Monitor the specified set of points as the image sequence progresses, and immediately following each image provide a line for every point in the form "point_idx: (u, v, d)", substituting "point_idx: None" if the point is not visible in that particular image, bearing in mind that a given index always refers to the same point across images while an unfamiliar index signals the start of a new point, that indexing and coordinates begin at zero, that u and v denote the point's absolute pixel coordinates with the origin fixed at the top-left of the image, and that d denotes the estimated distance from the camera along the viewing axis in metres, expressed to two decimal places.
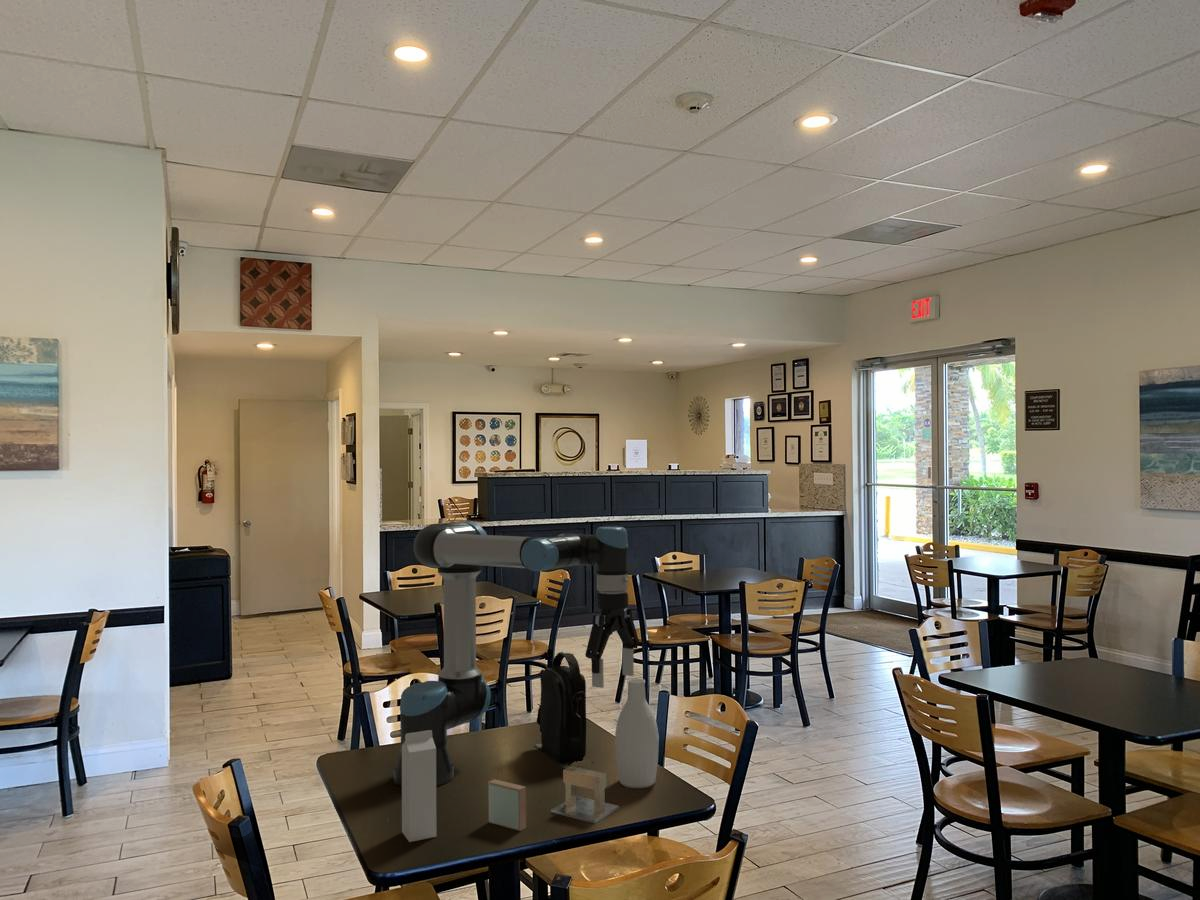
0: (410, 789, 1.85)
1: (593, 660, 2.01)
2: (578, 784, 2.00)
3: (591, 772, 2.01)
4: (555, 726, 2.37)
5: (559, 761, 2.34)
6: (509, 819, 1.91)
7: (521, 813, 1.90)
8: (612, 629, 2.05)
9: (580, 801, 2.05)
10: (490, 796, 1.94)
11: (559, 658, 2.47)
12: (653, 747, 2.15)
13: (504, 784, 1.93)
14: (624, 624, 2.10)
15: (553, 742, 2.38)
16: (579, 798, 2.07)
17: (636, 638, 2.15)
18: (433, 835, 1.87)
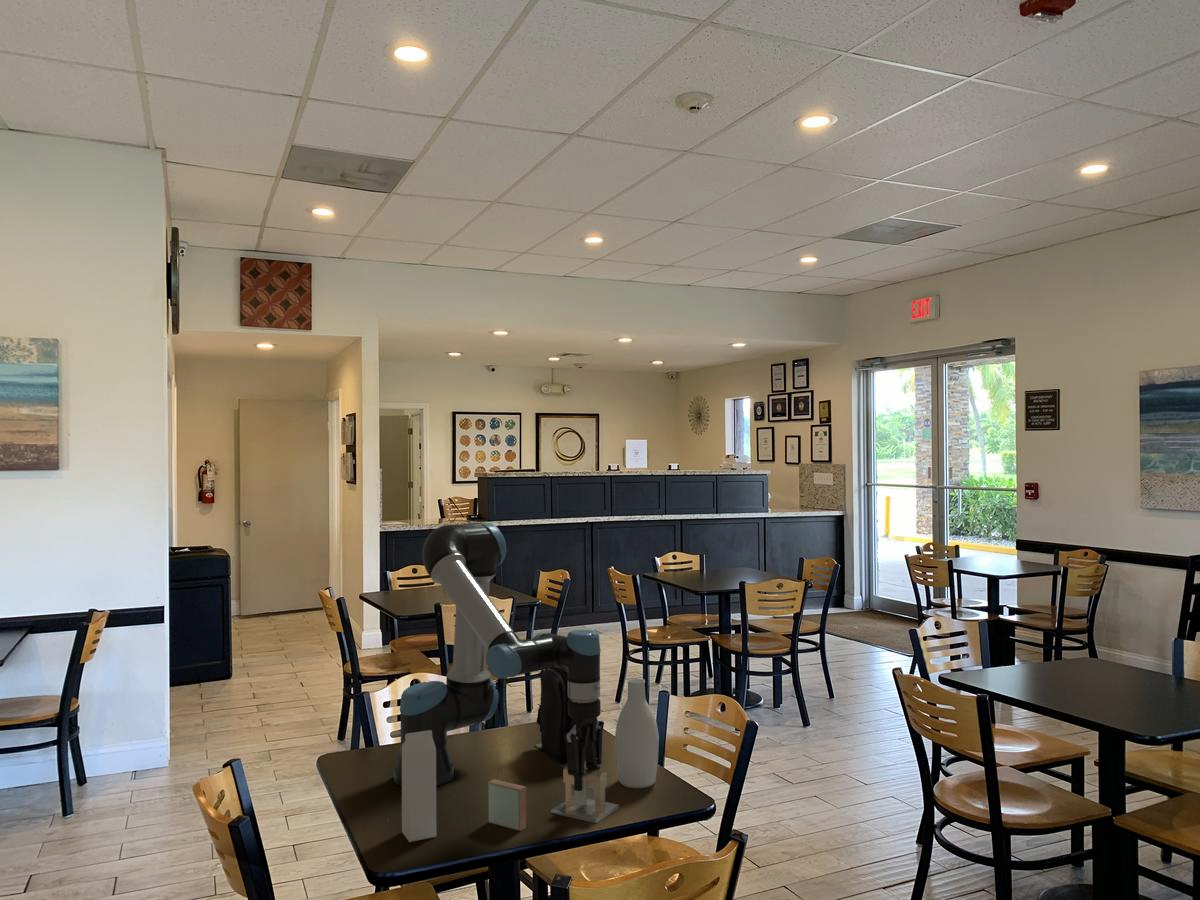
0: (410, 789, 1.85)
1: (576, 777, 1.98)
2: None
3: (591, 771, 2.01)
4: (555, 726, 2.37)
5: (559, 761, 2.34)
6: (509, 819, 1.91)
7: (521, 813, 1.90)
8: (586, 740, 1.99)
9: None
10: (490, 796, 1.94)
11: None
12: (653, 747, 2.15)
13: (504, 784, 1.93)
14: (594, 735, 2.02)
15: (553, 743, 2.38)
16: None
17: (600, 757, 2.04)
18: (433, 835, 1.87)
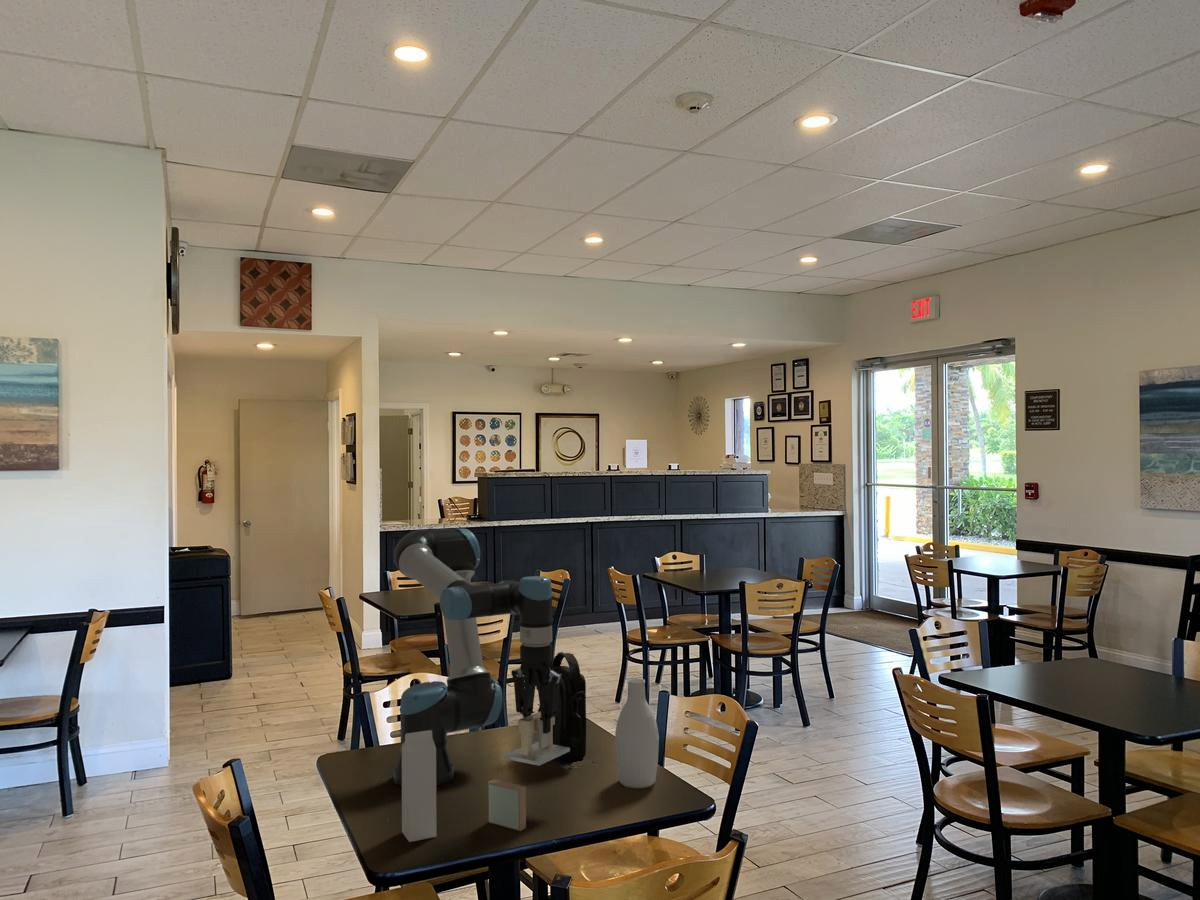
0: (410, 789, 1.85)
1: None
2: None
3: (534, 717, 2.01)
4: (555, 726, 2.37)
5: (559, 761, 2.34)
6: (509, 819, 1.91)
7: (521, 813, 1.90)
8: (526, 683, 2.02)
9: (553, 749, 2.03)
10: (490, 796, 1.94)
11: (559, 658, 2.47)
12: (653, 747, 2.15)
13: (504, 784, 1.93)
14: (537, 682, 2.01)
15: (553, 742, 2.38)
16: (563, 749, 2.04)
17: (549, 711, 1.99)
18: (433, 835, 1.87)
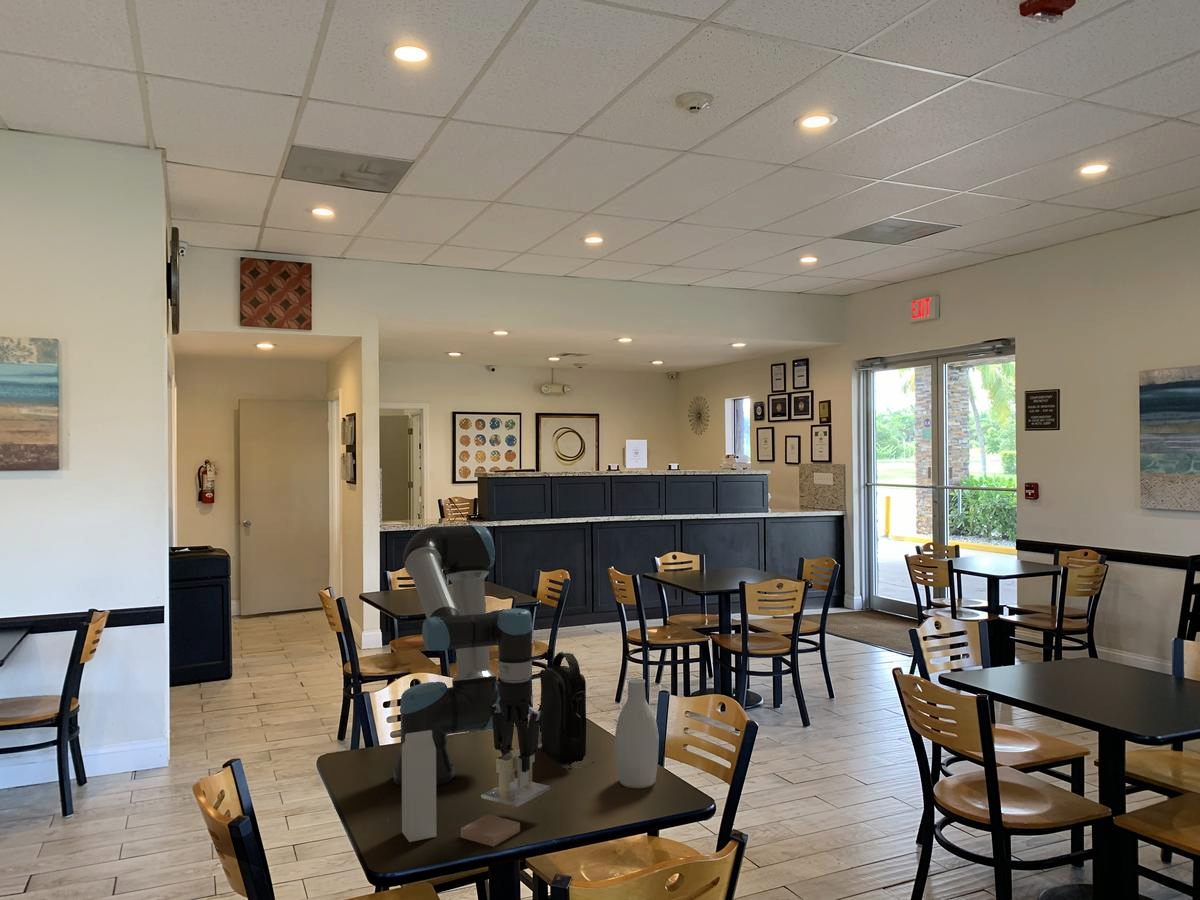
0: (410, 789, 1.85)
1: None
2: None
3: (512, 755, 1.94)
4: (555, 726, 2.37)
5: (559, 761, 2.34)
6: None
7: (509, 835, 1.86)
8: (505, 719, 1.96)
9: (533, 788, 1.97)
10: None
11: (559, 658, 2.47)
12: (653, 747, 2.15)
13: (475, 839, 1.85)
14: (516, 719, 1.94)
15: (553, 742, 2.38)
16: (543, 787, 1.97)
17: (528, 749, 1.93)
18: (433, 835, 1.87)
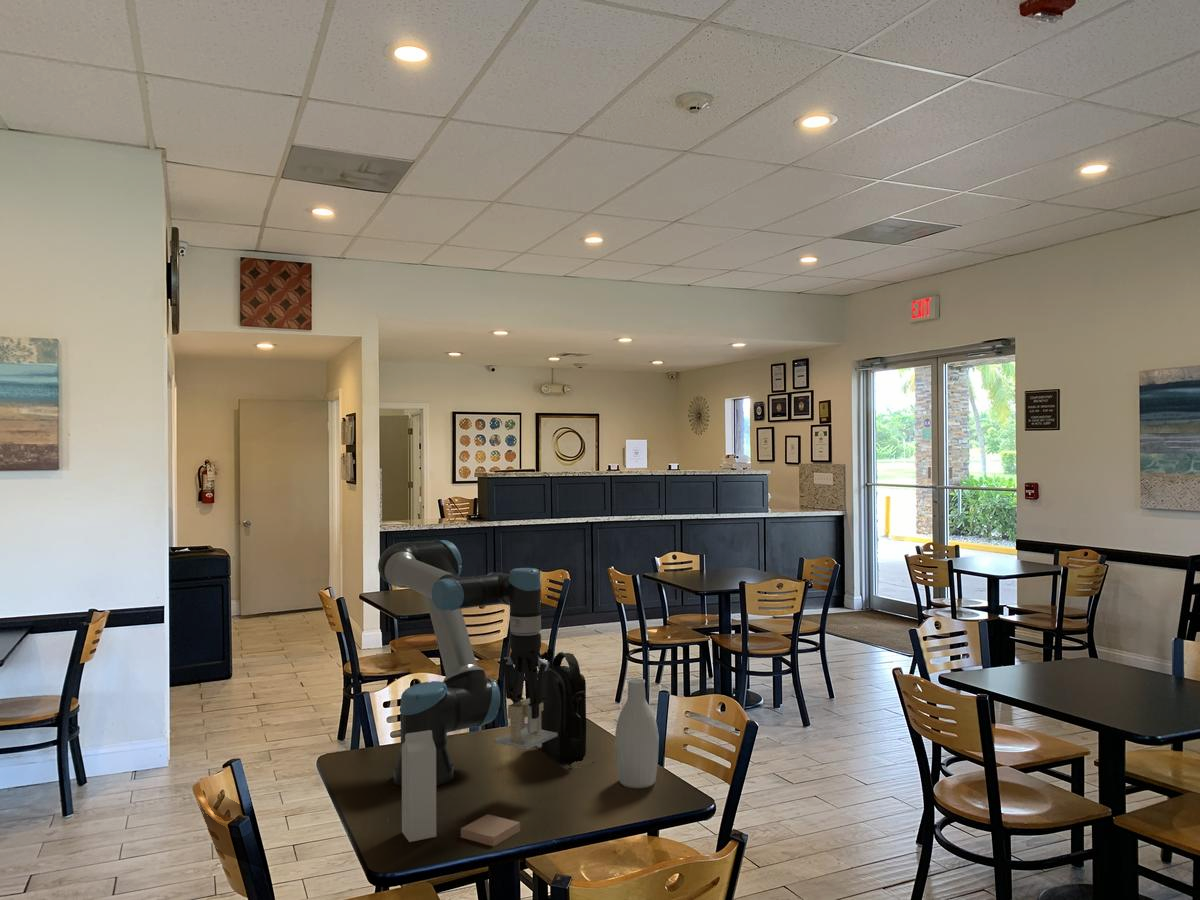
0: (410, 789, 1.85)
1: None
2: None
3: (523, 703, 2.09)
4: (555, 726, 2.37)
5: (559, 761, 2.34)
6: None
7: (509, 835, 1.87)
8: (516, 670, 2.10)
9: (542, 734, 2.12)
10: None
11: (559, 658, 2.47)
12: (653, 747, 2.15)
13: (475, 839, 1.85)
14: (526, 670, 2.09)
15: (553, 742, 2.38)
16: (551, 733, 2.12)
17: (538, 697, 2.07)
18: (433, 835, 1.87)
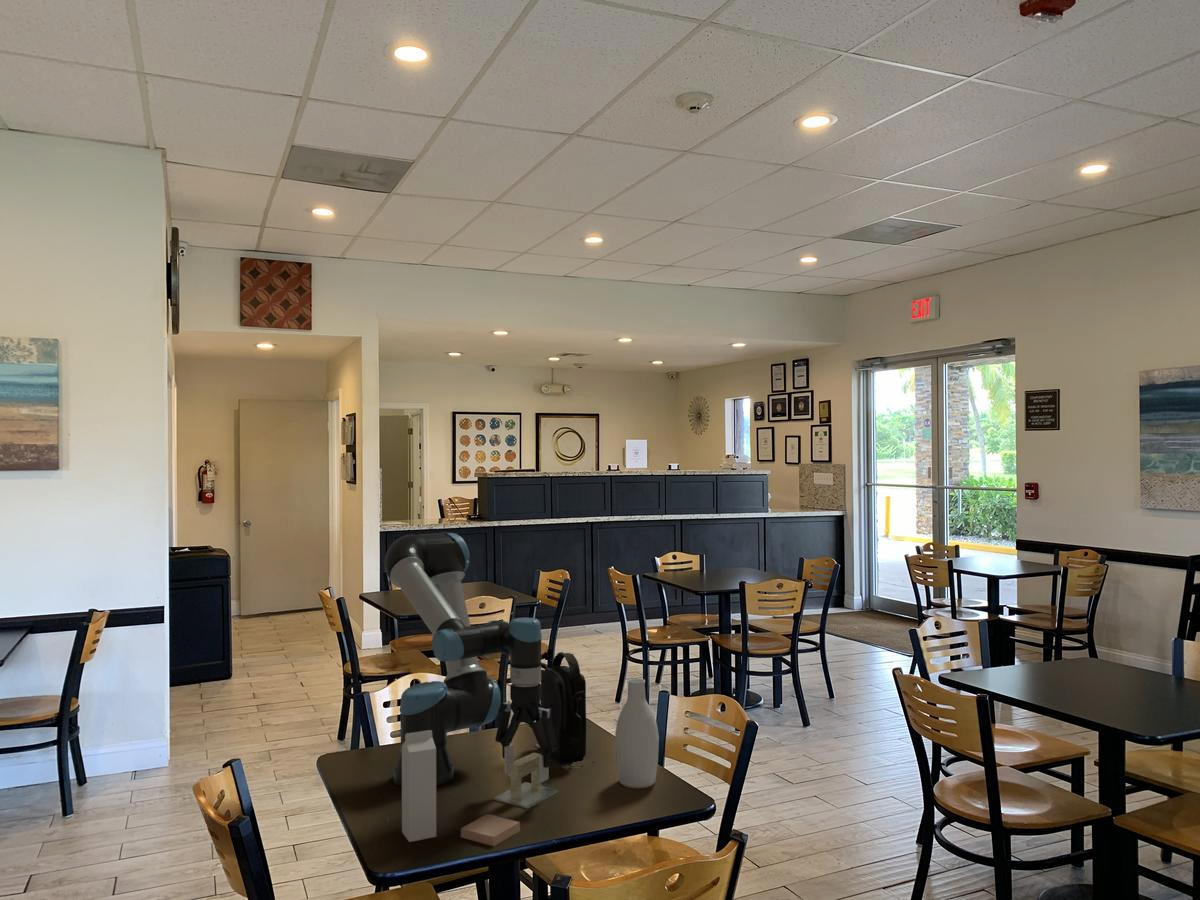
0: (410, 789, 1.85)
1: None
2: None
3: (523, 761, 2.09)
4: (555, 726, 2.37)
5: (559, 761, 2.34)
6: None
7: (509, 834, 1.87)
8: (513, 719, 2.11)
9: (542, 791, 2.11)
10: None
11: (559, 658, 2.47)
12: (653, 747, 2.15)
13: (475, 839, 1.85)
14: (529, 720, 2.08)
15: None
16: (551, 791, 2.12)
17: (548, 746, 2.05)
18: (433, 835, 1.87)
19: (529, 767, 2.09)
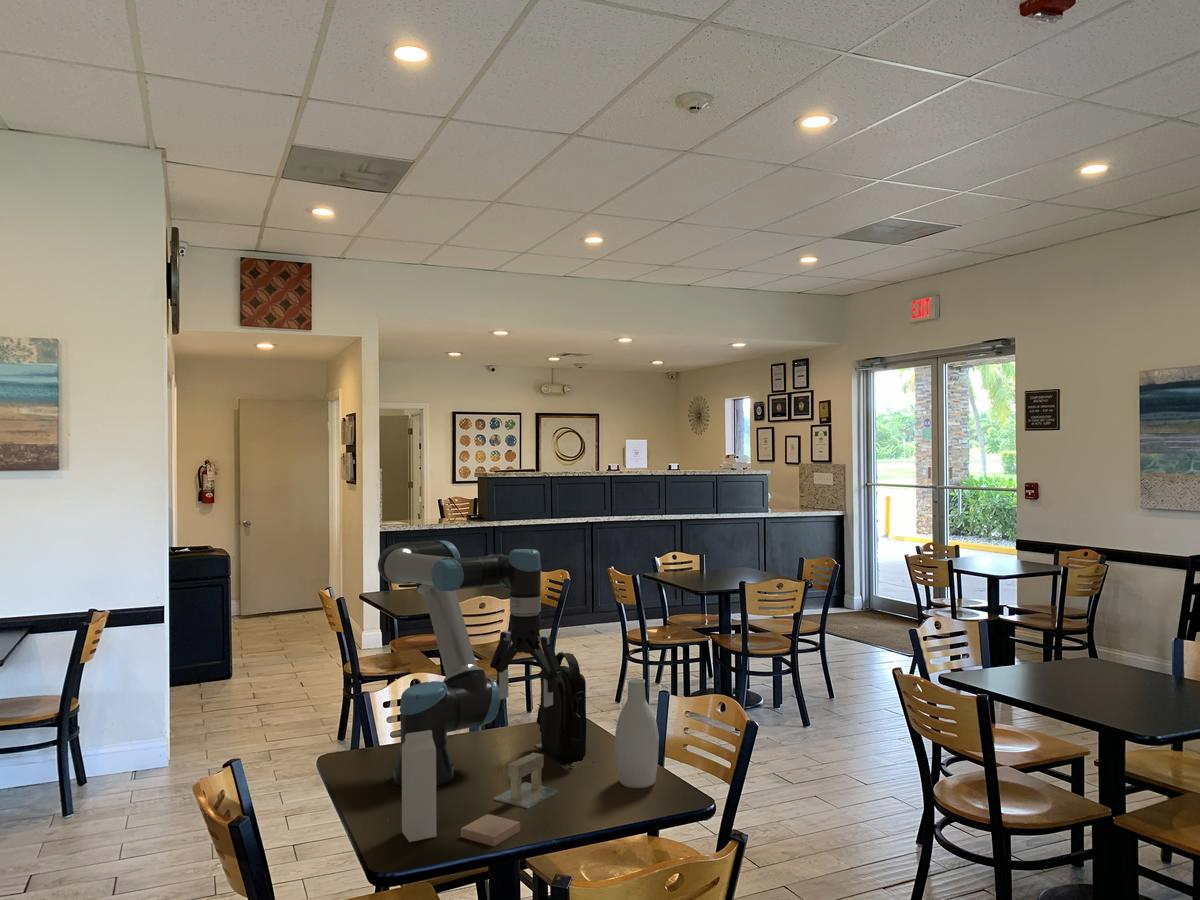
0: (410, 789, 1.85)
1: None
2: None
3: (523, 761, 2.09)
4: (555, 726, 2.37)
5: (559, 761, 2.34)
6: None
7: (509, 834, 1.87)
8: (511, 648, 2.11)
9: (542, 791, 2.11)
10: None
11: (559, 658, 2.47)
12: (653, 747, 2.15)
13: (475, 839, 1.85)
14: (529, 649, 2.08)
15: (553, 743, 2.38)
16: (551, 791, 2.12)
17: (552, 670, 2.05)
18: (433, 835, 1.87)
19: (529, 767, 2.09)
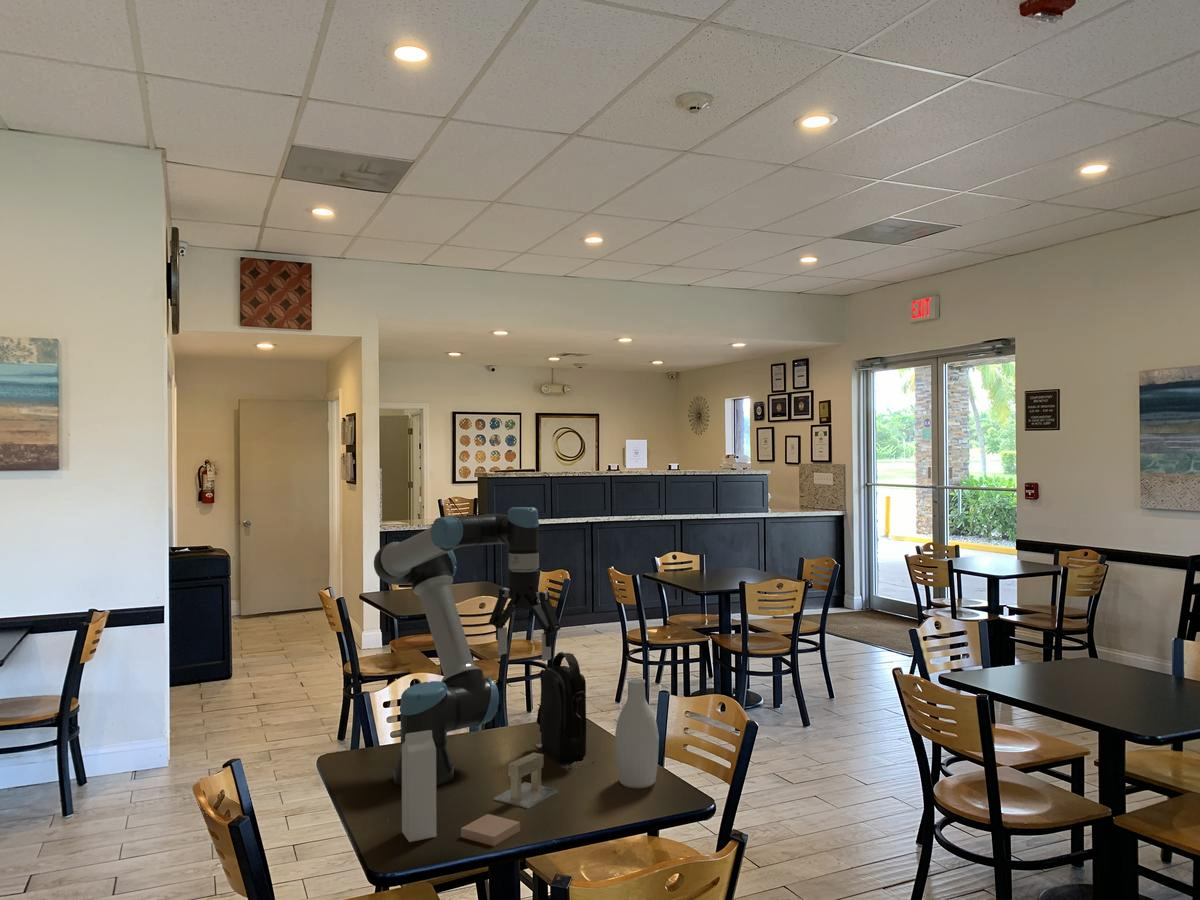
0: (410, 789, 1.85)
1: None
2: None
3: (523, 761, 2.09)
4: (555, 726, 2.37)
5: (559, 761, 2.34)
6: None
7: (509, 834, 1.87)
8: (510, 604, 2.14)
9: (542, 791, 2.11)
10: None
11: (559, 658, 2.47)
12: (653, 747, 2.15)
13: (475, 839, 1.85)
14: (527, 604, 2.11)
15: (553, 742, 2.38)
16: (551, 791, 2.12)
17: (550, 625, 2.08)
18: (433, 835, 1.87)
19: (529, 767, 2.09)
